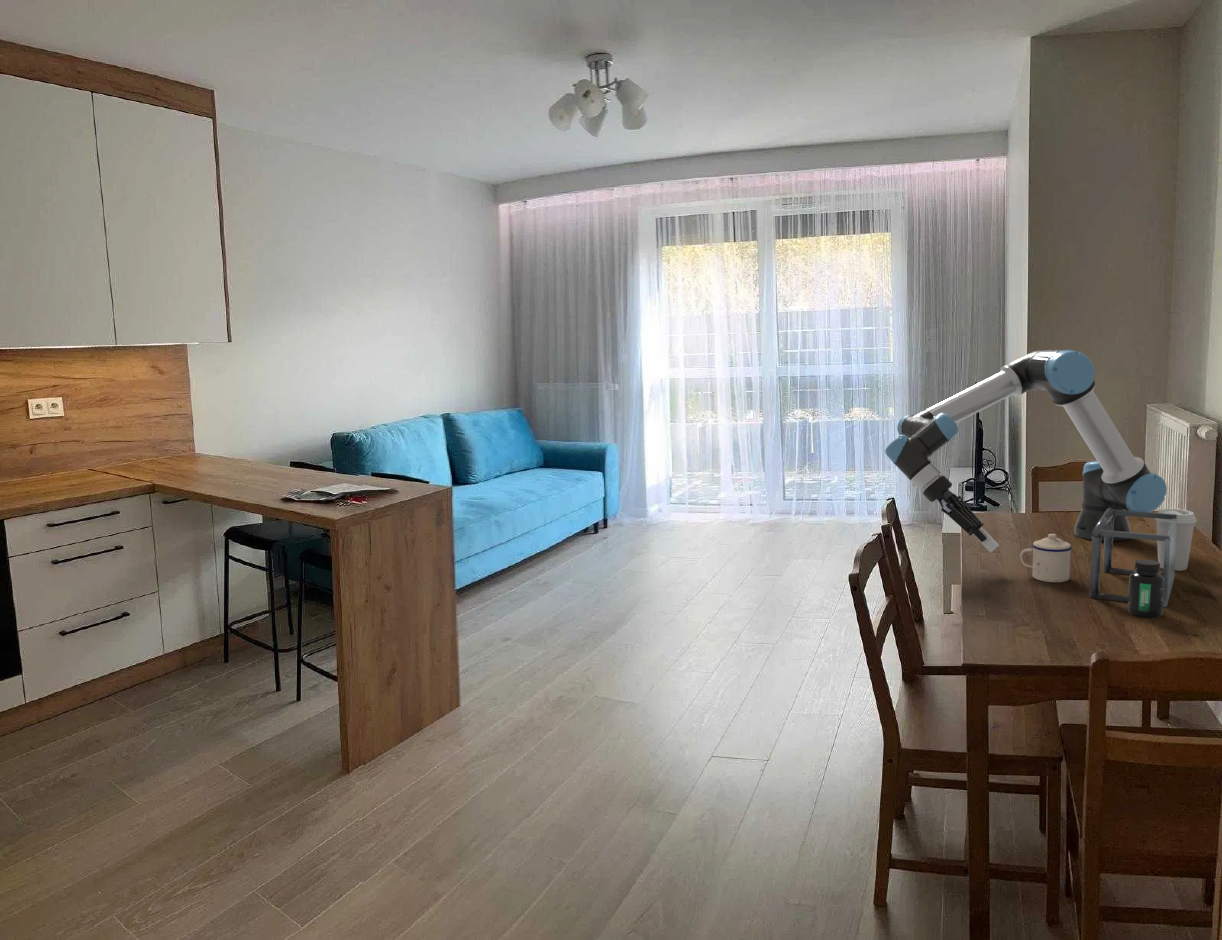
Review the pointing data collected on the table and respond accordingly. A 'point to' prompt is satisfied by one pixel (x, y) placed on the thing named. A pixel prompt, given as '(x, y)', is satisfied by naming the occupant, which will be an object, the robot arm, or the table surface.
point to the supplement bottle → (1146, 590)
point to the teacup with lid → (1050, 559)
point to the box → (1108, 533)
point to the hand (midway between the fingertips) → (994, 548)
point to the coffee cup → (1183, 536)
